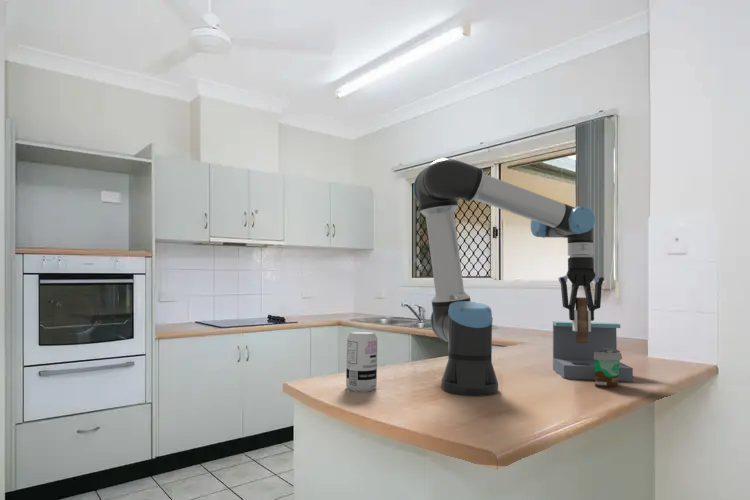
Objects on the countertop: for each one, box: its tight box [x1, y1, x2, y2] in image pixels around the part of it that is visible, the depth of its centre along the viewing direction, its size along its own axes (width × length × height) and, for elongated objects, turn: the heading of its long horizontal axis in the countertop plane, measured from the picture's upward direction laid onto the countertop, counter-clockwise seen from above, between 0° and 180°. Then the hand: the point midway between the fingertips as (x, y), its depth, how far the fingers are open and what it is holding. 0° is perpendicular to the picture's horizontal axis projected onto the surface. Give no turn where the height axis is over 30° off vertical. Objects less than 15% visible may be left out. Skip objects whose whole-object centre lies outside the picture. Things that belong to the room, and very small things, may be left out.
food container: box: [594, 348, 623, 389], centre depth 139 cm, size 12×6×10 cm, turn 143°
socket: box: [552, 320, 634, 382], centre depth 154 cm, size 20×14×16 cm
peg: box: [575, 296, 588, 343], centre depth 151 cm, size 3×3×14 cm
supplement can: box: [345, 330, 378, 393], centre depth 130 cm, size 8×8×15 cm
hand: (581, 330), depth 151 cm, fingers closed on peg, 3 cm apart
